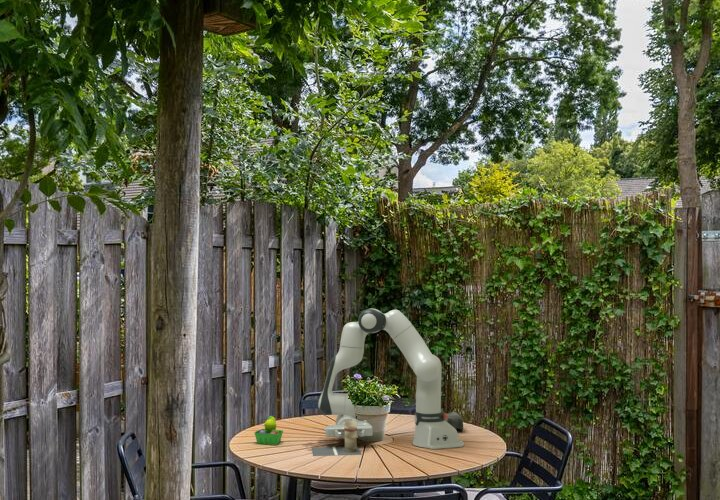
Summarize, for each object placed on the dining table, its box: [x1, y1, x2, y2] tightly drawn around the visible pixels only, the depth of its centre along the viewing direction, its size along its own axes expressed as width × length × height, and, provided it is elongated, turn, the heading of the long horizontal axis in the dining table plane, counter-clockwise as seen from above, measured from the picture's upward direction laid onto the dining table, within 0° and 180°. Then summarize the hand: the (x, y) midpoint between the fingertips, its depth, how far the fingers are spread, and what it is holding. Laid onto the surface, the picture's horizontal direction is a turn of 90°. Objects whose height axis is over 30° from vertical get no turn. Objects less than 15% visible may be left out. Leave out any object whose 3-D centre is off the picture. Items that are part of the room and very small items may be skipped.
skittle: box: [344, 420, 358, 452], centre depth 270 cm, size 5×5×12 cm
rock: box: [443, 411, 464, 432], centre depth 316 cm, size 18×11×8 cm, turn 9°
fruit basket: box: [254, 415, 284, 446], centre depth 287 cm, size 11×9×11 cm
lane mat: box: [311, 445, 363, 457], centre depth 268 cm, size 20×14×1 cm
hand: (350, 434), depth 269 cm, fingers open, 8 cm apart
